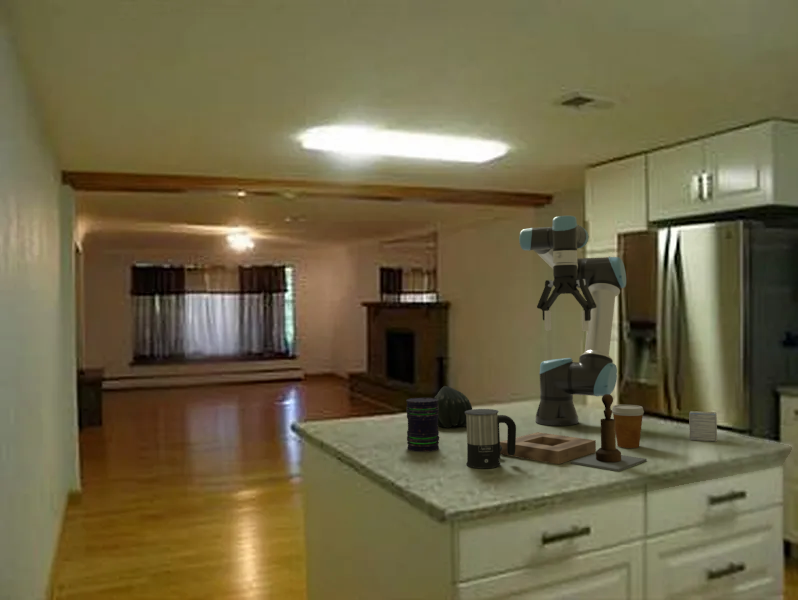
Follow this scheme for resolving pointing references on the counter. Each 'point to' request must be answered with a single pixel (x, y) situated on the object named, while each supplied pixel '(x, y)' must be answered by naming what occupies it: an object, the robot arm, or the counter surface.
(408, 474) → the counter surface
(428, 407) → the storage jar
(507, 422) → the milk frother
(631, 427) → the disposable coffee cup
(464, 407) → the squash
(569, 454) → the collar block
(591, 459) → the mat
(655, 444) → the counter surface
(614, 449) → the wooden pepper mill
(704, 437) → the medicine box
